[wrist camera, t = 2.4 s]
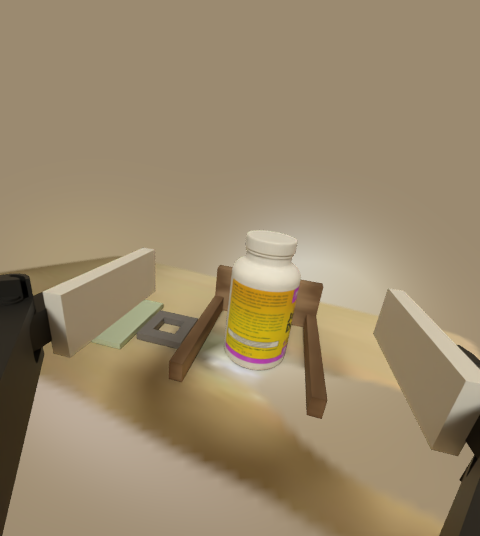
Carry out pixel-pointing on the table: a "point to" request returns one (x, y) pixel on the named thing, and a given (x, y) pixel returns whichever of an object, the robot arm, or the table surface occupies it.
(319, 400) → the cubby
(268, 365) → the supplement bottle
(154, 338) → the hole frame
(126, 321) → the mat
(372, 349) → the table surface
